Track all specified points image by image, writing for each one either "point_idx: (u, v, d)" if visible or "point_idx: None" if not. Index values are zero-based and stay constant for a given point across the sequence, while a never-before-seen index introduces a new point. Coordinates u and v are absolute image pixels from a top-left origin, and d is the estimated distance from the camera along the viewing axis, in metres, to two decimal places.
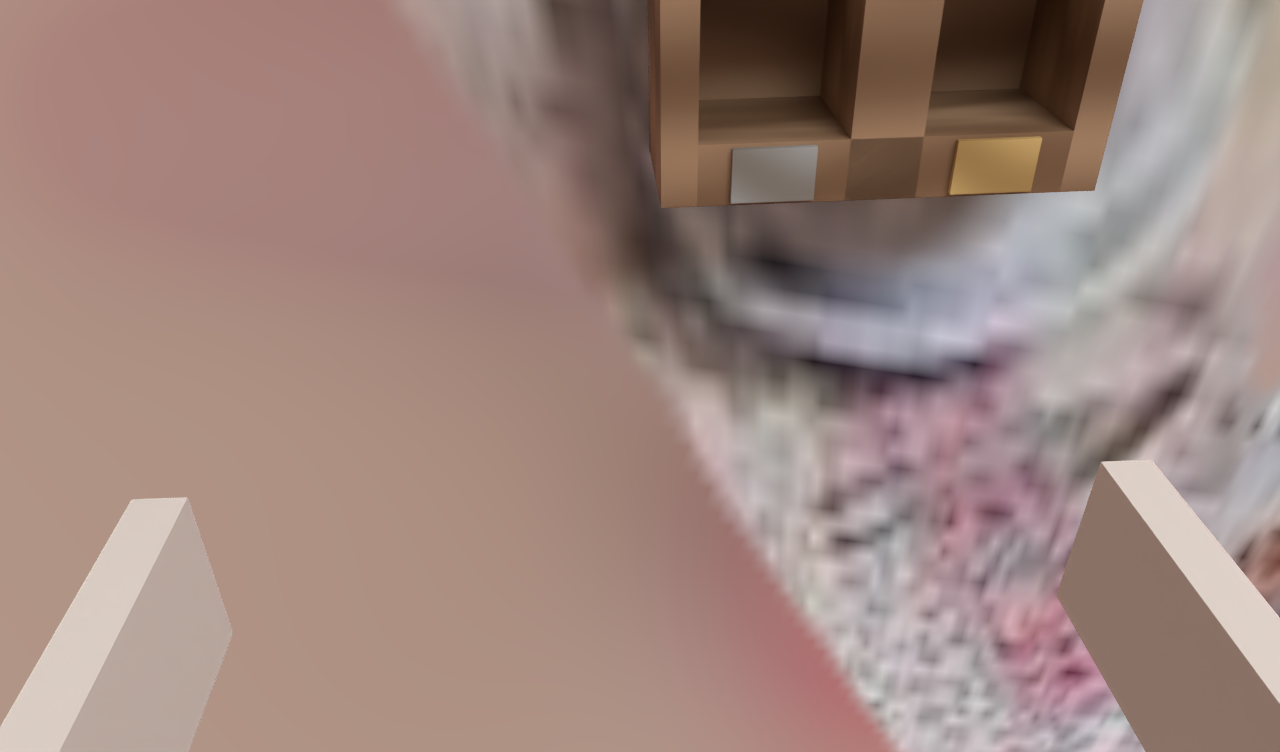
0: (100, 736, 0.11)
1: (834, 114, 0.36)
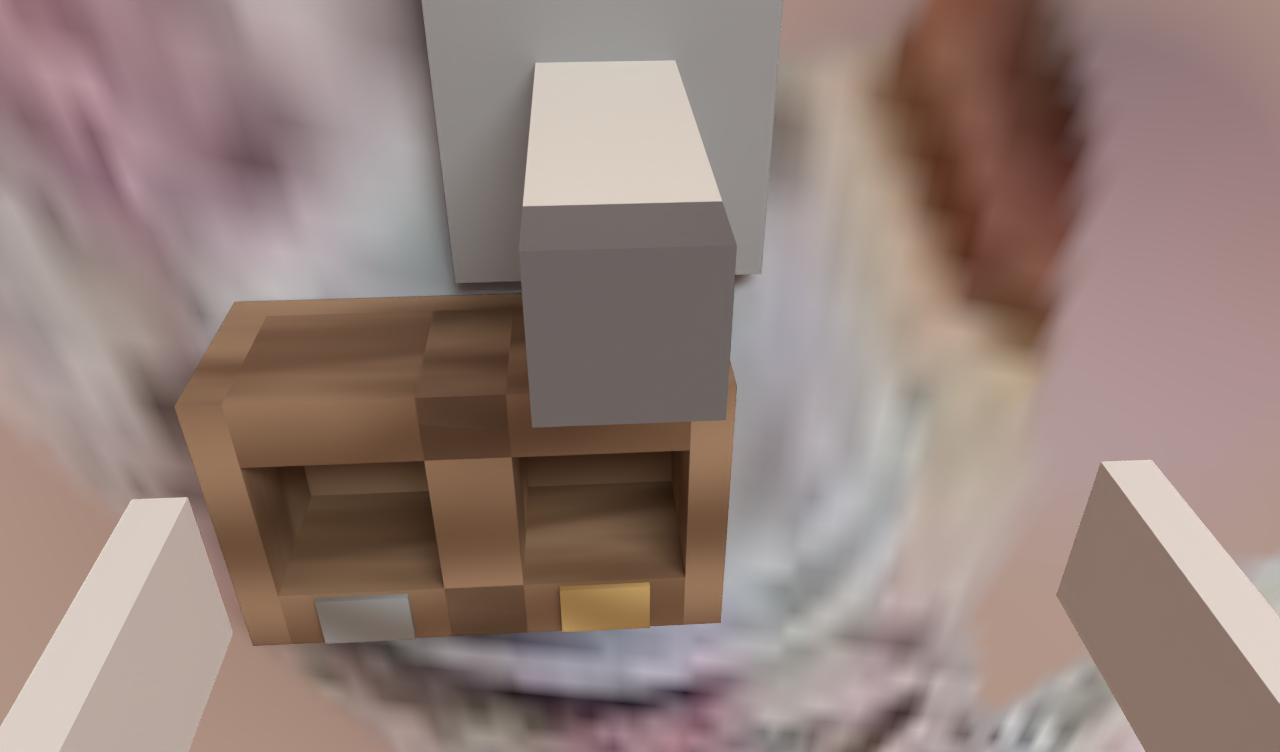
0: (101, 735, 0.11)
1: None
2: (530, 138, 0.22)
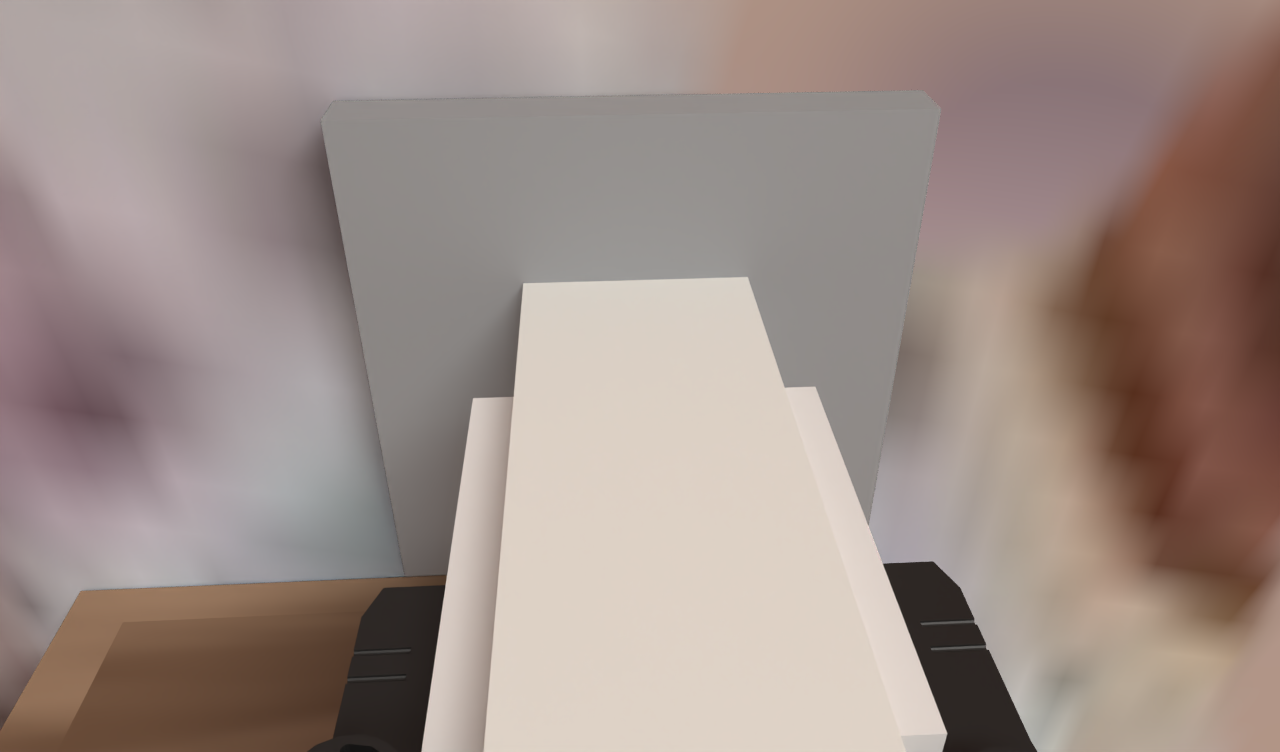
0: None
1: None
2: (506, 516, 0.12)
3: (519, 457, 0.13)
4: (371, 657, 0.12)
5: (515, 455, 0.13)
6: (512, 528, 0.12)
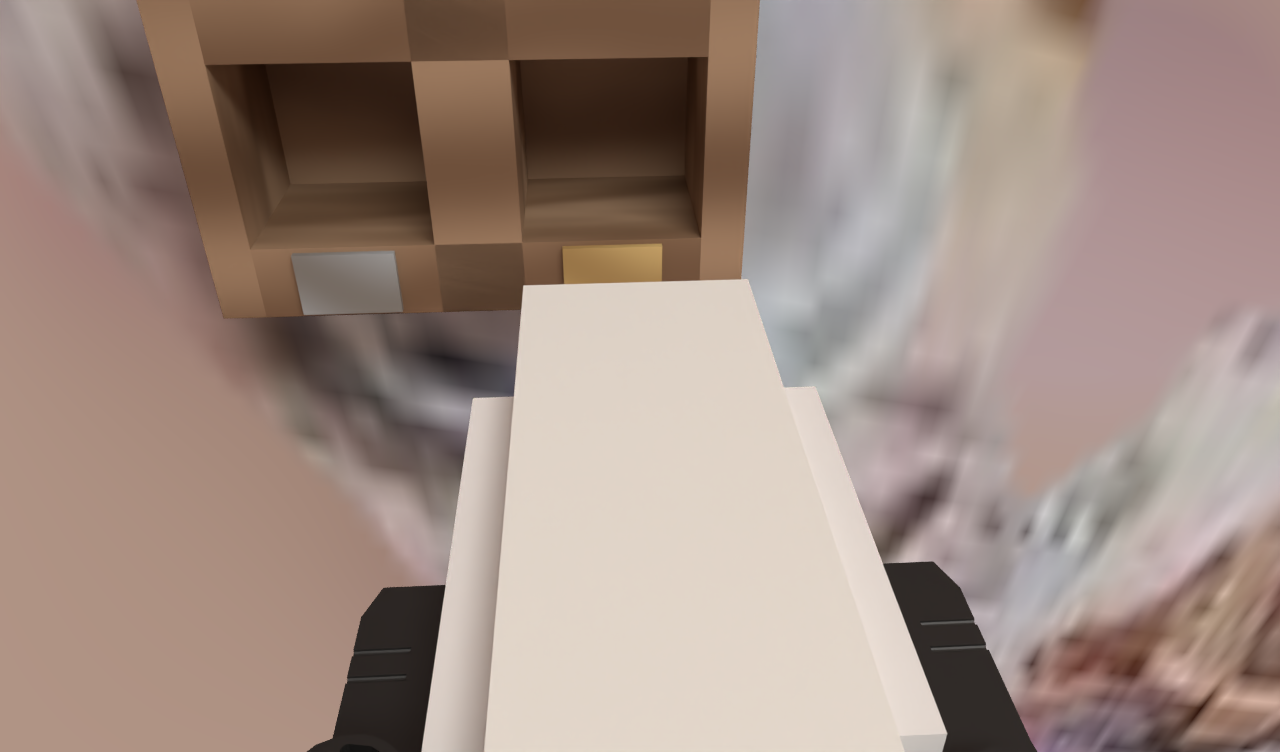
0: None
1: None
2: (507, 519, 0.12)
3: (519, 460, 0.13)
4: (371, 657, 0.12)
5: (515, 458, 0.13)
6: (512, 531, 0.12)
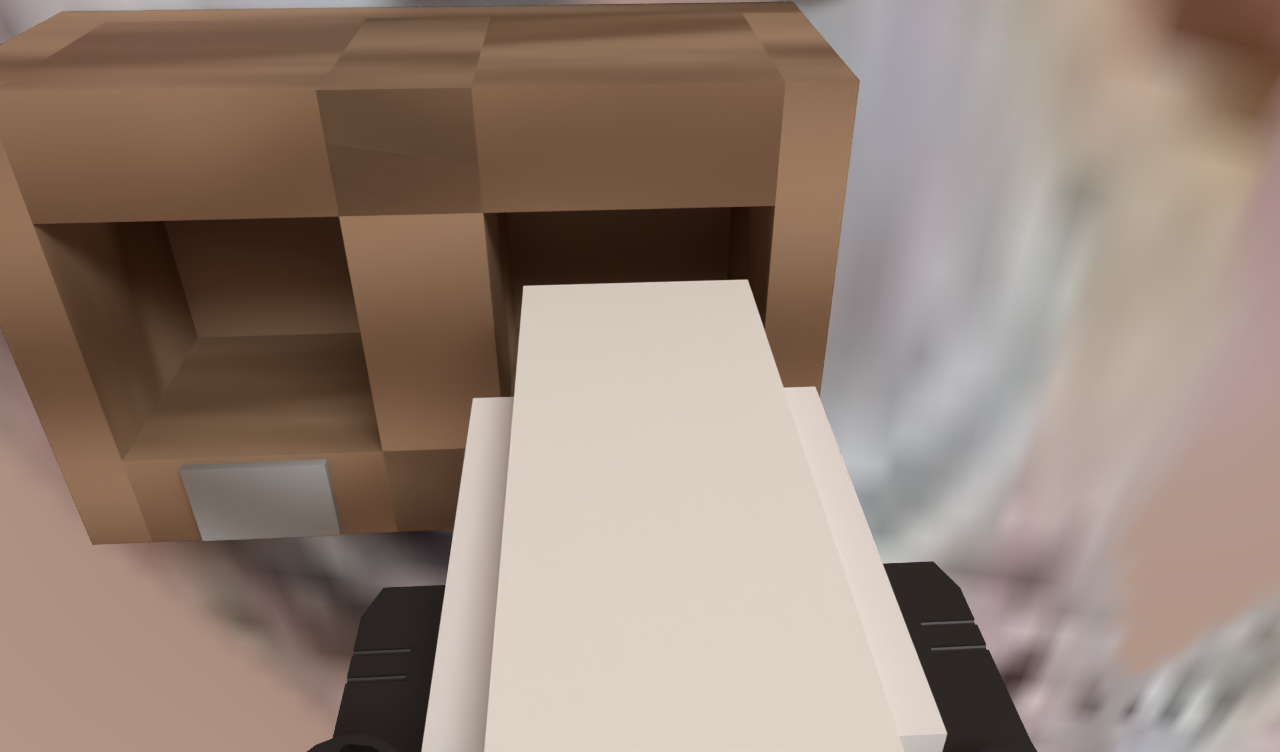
0: None
1: None
2: (507, 520, 0.12)
3: (519, 460, 0.13)
4: (371, 657, 0.12)
5: (515, 458, 0.13)
6: (512, 531, 0.12)
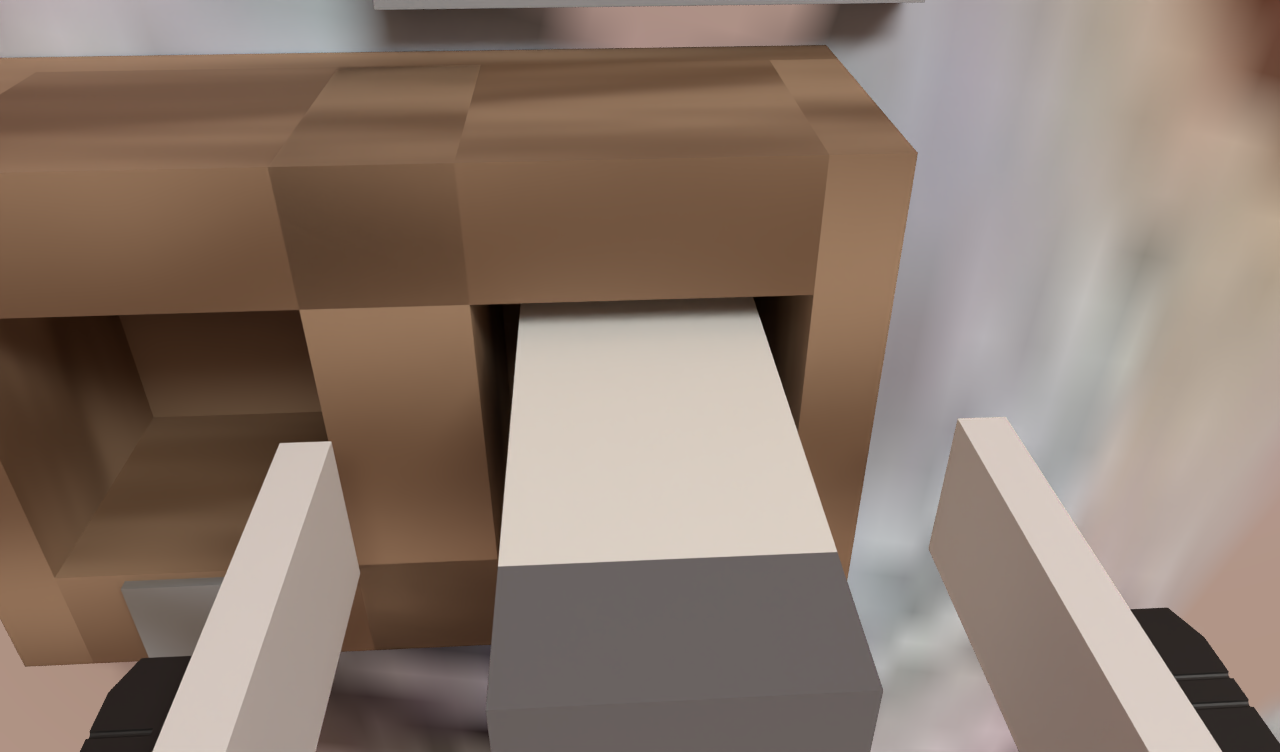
0: (283, 646, 0.12)
1: None
2: (516, 383, 0.14)
3: (526, 342, 0.15)
4: (106, 740, 0.11)
5: (523, 340, 0.15)
6: (521, 391, 0.14)
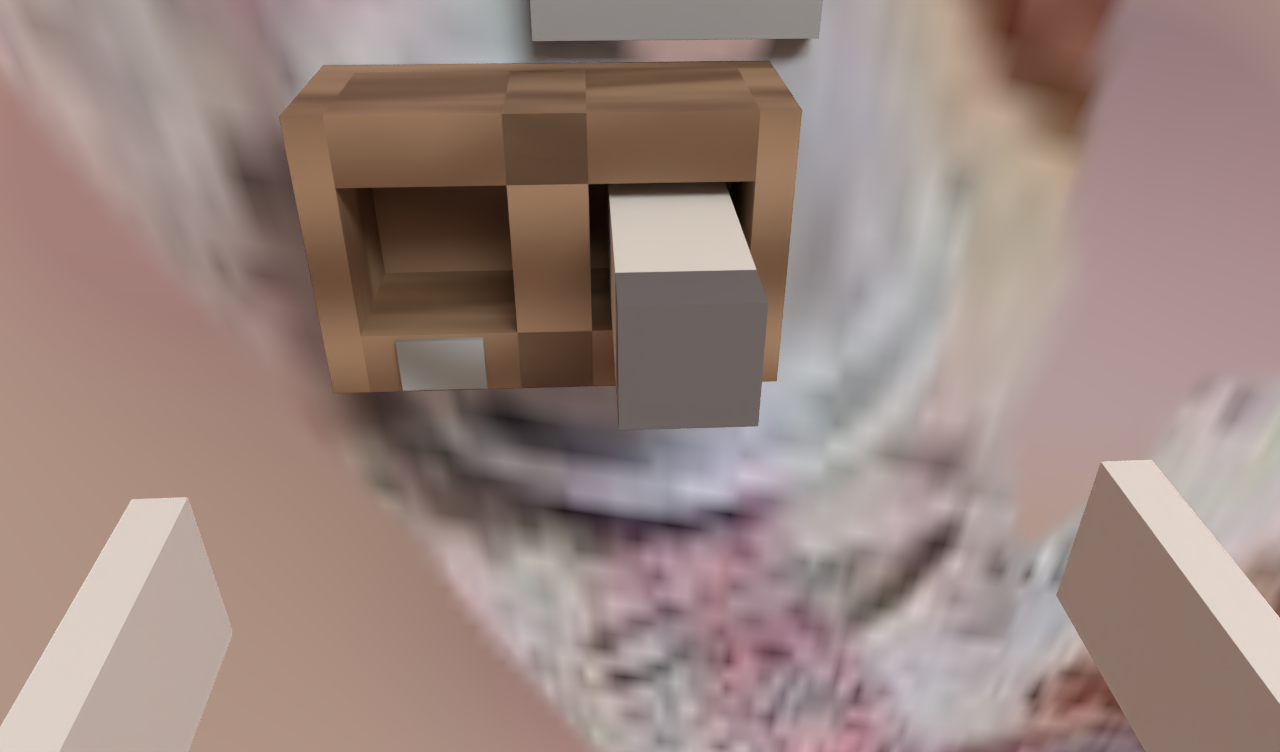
0: (101, 735, 0.11)
1: None
2: (612, 218, 0.30)
3: (614, 204, 0.31)
4: None
5: (612, 203, 0.31)
6: (615, 221, 0.30)
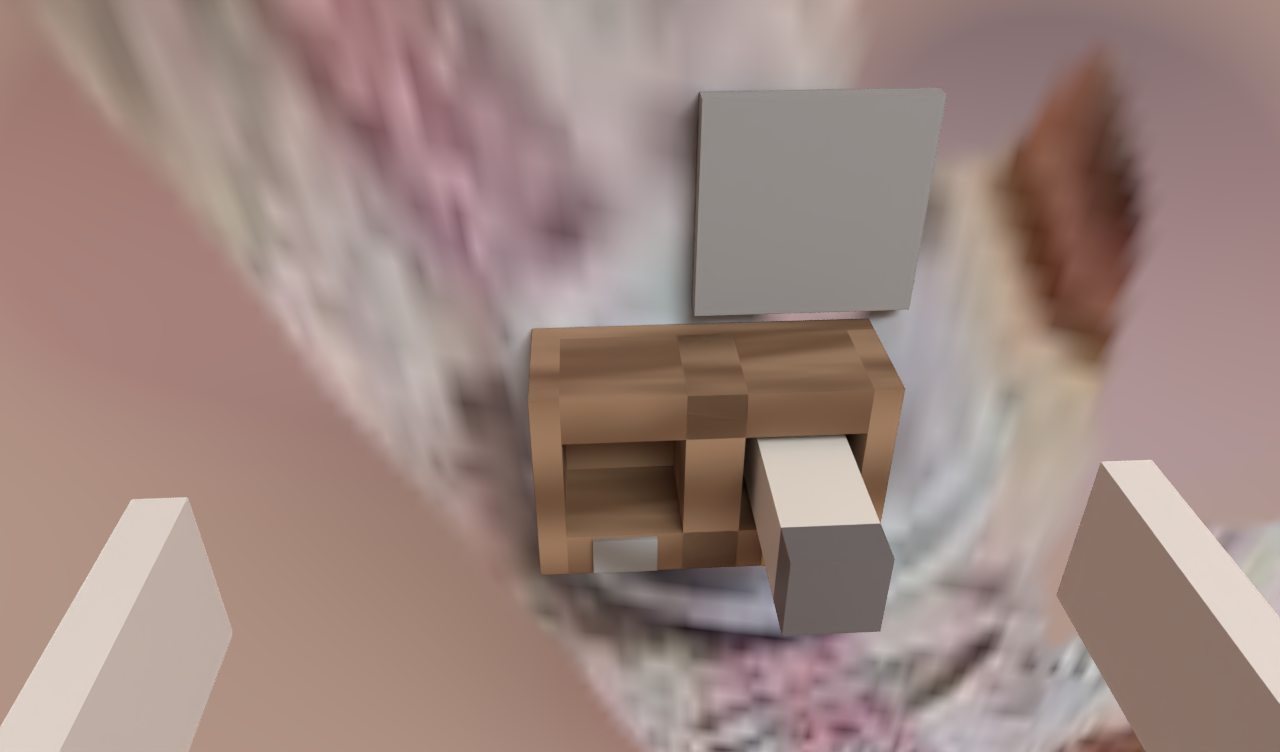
0: (101, 736, 0.11)
1: (677, 496, 0.47)
2: (765, 466, 0.41)
3: (763, 449, 0.42)
4: None
5: (762, 449, 0.42)
6: (768, 469, 0.41)
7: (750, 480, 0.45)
